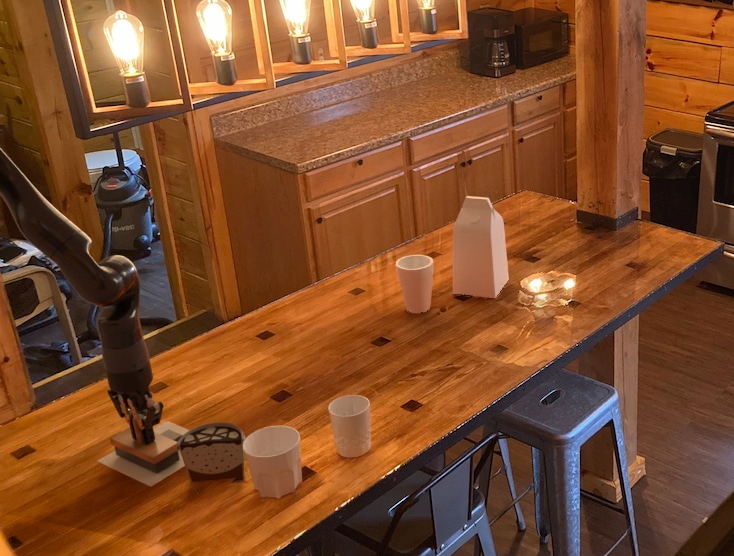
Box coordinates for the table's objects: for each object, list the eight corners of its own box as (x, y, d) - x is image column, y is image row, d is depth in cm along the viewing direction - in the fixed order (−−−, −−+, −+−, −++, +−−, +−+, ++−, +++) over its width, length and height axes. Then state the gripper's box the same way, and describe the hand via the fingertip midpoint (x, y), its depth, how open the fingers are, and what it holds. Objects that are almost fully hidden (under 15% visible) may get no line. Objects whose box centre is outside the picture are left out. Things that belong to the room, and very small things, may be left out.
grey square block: (153, 449, 187) (151, 439, 186) (170, 439, 190) (168, 429, 189) (167, 455, 185) (165, 445, 184) (184, 445, 188) (182, 434, 187)
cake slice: (257, 461, 185) (250, 417, 181) (252, 480, 180) (244, 436, 176) (191, 467, 183) (182, 423, 179) (183, 487, 178) (174, 442, 174)
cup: (264, 467, 183) (257, 424, 179) (314, 470, 182) (308, 427, 178) (241, 500, 174) (233, 455, 170) (293, 503, 173) (286, 458, 169)
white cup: (332, 440, 192) (327, 398, 188) (372, 434, 194) (367, 391, 190) (335, 463, 185) (329, 419, 181) (376, 455, 187) (371, 412, 183)
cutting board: (97, 465, 184) (96, 460, 183) (168, 424, 196) (167, 420, 196) (151, 491, 177) (150, 486, 176) (221, 447, 189) (220, 443, 189)
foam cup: (393, 307, 247) (388, 261, 241) (423, 296, 252) (420, 251, 247) (412, 319, 240) (408, 273, 235) (443, 308, 246) (440, 262, 241)
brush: (113, 455, 184) (104, 416, 181) (139, 441, 189) (130, 402, 185) (157, 475, 179) (148, 434, 175) (182, 459, 183) (174, 420, 180)
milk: (509, 281, 261) (505, 192, 251) (495, 299, 251) (491, 207, 241) (467, 277, 264) (463, 188, 253) (452, 294, 254) (447, 203, 243)
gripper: (84, 360, 175) (103, 439, 182) (133, 380, 169) (150, 461, 176) (121, 343, 181) (138, 420, 188) (169, 362, 175) (185, 441, 182)
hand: (144, 439), depth 182 cm, fingers closed on brush, 2 cm apart
